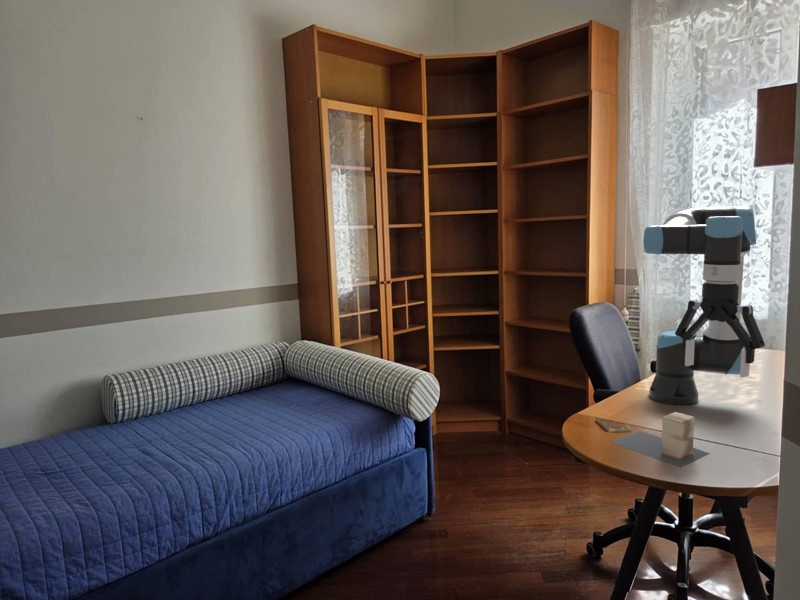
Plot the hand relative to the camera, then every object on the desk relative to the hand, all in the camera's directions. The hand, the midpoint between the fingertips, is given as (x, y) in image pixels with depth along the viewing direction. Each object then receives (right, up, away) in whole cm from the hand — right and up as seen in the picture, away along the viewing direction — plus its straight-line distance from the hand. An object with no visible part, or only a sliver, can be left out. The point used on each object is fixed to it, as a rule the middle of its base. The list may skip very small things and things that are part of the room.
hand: (715, 370), depth 134 cm
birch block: (-4, -23, +11) cm, 26 cm away
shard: (-14, -22, +30) cm, 40 cm away
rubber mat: (-7, -23, +15) cm, 28 cm away
